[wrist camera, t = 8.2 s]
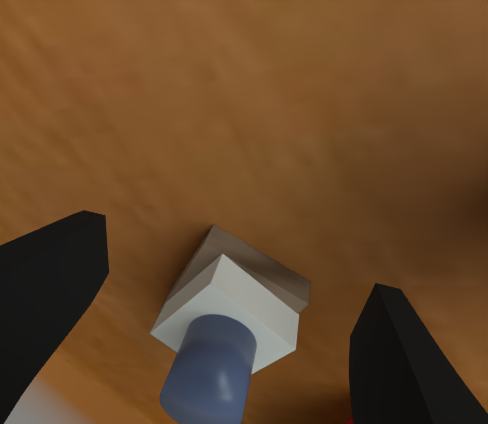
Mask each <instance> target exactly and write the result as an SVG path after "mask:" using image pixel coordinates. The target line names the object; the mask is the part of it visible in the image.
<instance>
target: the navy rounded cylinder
mask: <svg viewBox="0 0 488 424" xmlns="http://www.w3.org/2000/svg"><path fill="white" fill-rule="evenodd" d="M256 349H257V342H256V339H255V336H254V335H253V333H252V332H251V331H250V330H249V329H248V328H247V327H246V326H245V325H244V324H242V323H241V322H239V321H237V320H235V319H233V318H231V317H228V316H224V315H218V314H208V315H203V316H200V317H198V318H196V319H194V320H193V321H192V322H191V323H190V325H189V327H188V329H187V331H186V334H185V336H184V339H183V341H182V343H181V346H180V348H179V350H178V353H177V355H176V357H175V360H174V362H173V365H172V367H171V369H170V372H169V374H168V376H167V379H166V381H165V384H164V386H163V388H162V391H161V393H160V403H161V405H162V407H163V409H164V410H165V411H166V413H167V414H168V415H169V416H170V417H172V418H173V419H174V420H176V421H177V422H179V423H180V424H241V421H242V417H243V412H244V407H245V402H246V398H247V393H248V388H249V383H250V378H251V373H252V368H253V364H254V359H255V354H256Z"/></svg>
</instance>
